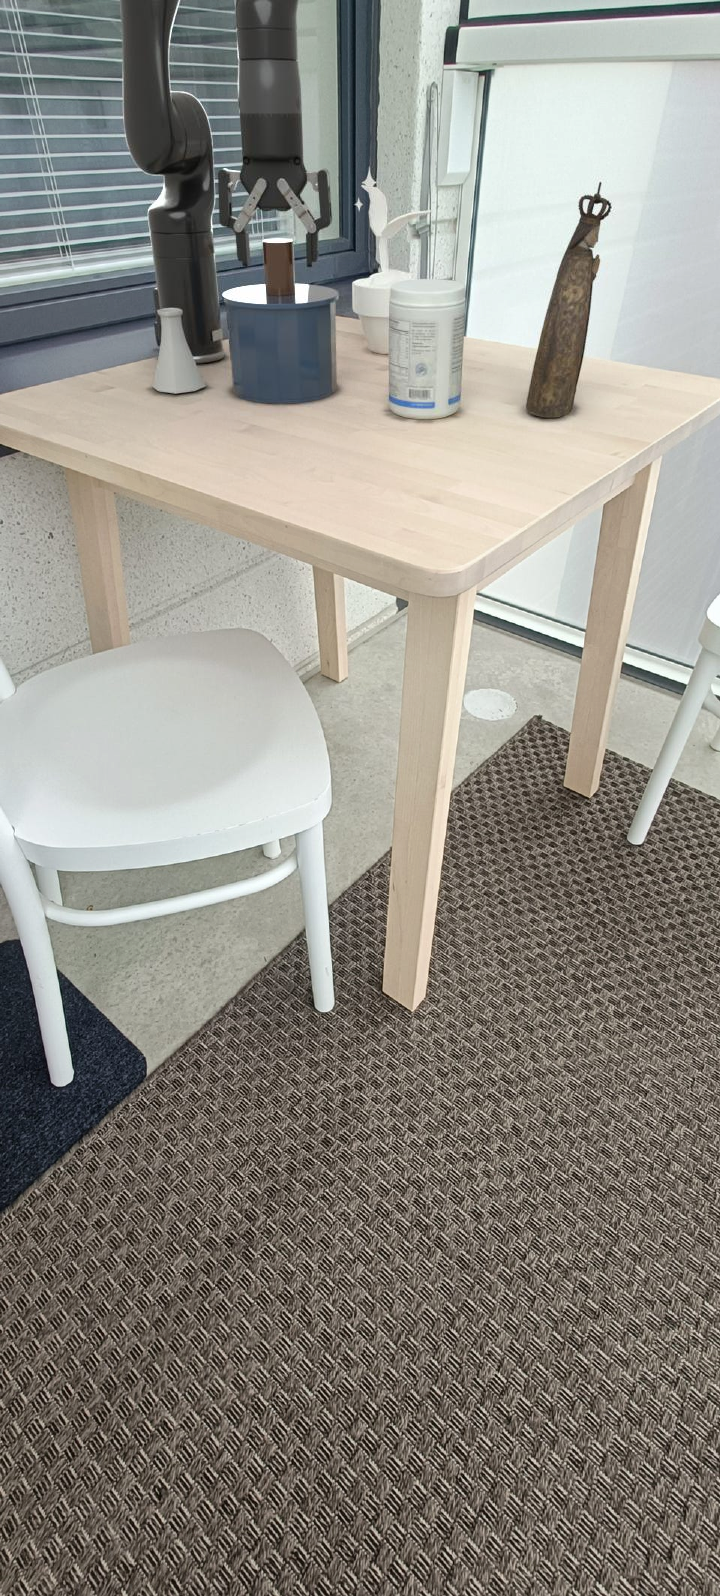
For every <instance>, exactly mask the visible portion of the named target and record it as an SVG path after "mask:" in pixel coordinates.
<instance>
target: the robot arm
mask: <svg viewBox="0 0 720 1596" xmlns="http://www.w3.org/2000/svg"><path fill="white" fill-rule="evenodd" d="M299 2H300V1H299V0H236V1H235V7H234V16H235V17H234V19H235V31H236V32H235V33H236V34H235V35H236V48H237V50H236V51H237V59H238V60H237V108H238V111H239V113H238V114H239V125H240V127H239V128H240V139H241V140H240V141H241V157H242V166H241V169H240V170H232V169H229V168H221V169H220V170H219V171H218V172H217V187H218V189H217V191H218V212H219V213H218V218H219V219H218V220H219V224H220V225H221V226H222V227H226V228H228V229H230V230H232V231H233V232H234V234H235V245H236V247H235V248H236V257H237V260H238V262H241V264H242V267H250V266H251V250H250V235H249V231H247V227H248V225H249V223H250V222H251V220H252V219H253V216H254V215H255V213H256V212H257V210H261V212H270V211H273V210H275V211H278V212H288V211H290V210H292V211H293V212H294V213H295V215H296V216H297V218H298V219H299V220H300V221H301V223H302V225H303V226H304V227H305V229H306V230H307V232H306V233H305V251H306V267H307V268H313V267H314V266H315V263H317V262H318V260H319V257H320V253H319V252H320V248H319V247H320V245H319V244H320V243H319V234H320V231H321V230H323V229H325V228H328V227H329V226H330V225H331V224H332V223H333V213H332V199H331V198H332V197H331V182H330V172H329V170H328V169H326V168H322V169H320V170H313V171H307V169H306V166H305V163H304V138H303V137H304V135H303V104H302V83H301V75H300V70H299V69H300V67H299V61H298V59H299V53H298V49H299V48H298V31H297V30H298V23H297V21H298V20H297V17H298V6H299ZM180 3H181V0H119V12H120V13H119V14H120V27H121V46H122V115H123V116H122V117H123V118H122V119H123V129H124V136H125V142H126V145H127V148H128V151H129V154H130V156H131V159H132V160H133V162H134V163H135V165H136V166H137V167H138V168H139V170H141V171H142V172H143V173H144V174H146V175H149V176H150V175H151V176H163V189H162V191H161V193H160V195H159V196H158V198H157V200H155V202H153V203H152V204H151V205H150V206H149V208H148V210H147V223H148V229H149V237H150V244H151V253H152V259H153V267H154V275H155V283H156V287H155V288H154V289H153V290H152V297H153V303H154V304H153V305H154V311H155V320H156V321H154V322H153V327H154V336H155V341H156V345H157V347H159V348H160V345H161V331H162V326H161V318H160V315H158V312H157V310H160V309H163V308H179V309H181V310H182V311H183V313H182V315H181V322H182V328H183V332H184V335H185V339H186V342H187V344H188V347H189V349H190V351H191V354H192V356H193V358H194V361H195V363H196V364H206V363H213V362H216V361H220V360H222V359H223V358H224V357H225V348H224V344H223V343H224V342H223V338H224V336H223V334H224V333H223V327H222V320H221V309H220V307H221V306H220V297H219V287H218V286H219V285H218V274H217V264H216V253H215V242H214V241H215V240H214V230H213V214H214V210H215V205H216V184H215V182H216V181H215V162H214V161H215V160H214V145H213V143H214V142H213V134H212V129H211V124H210V121H209V117H208V114H207V112H206V110H205V108H204V106H203V105H202V103H201V102H200V101H199V99H198V98H197V97H196V96H194V95H193V94H191V93H190V92H185V91H176V90H175V91H174V90H171V78H170V44H171V36H172V30H173V27H174V23H175V19H176V15H177V12H178V9H179V6H180ZM239 181H240V183H241V185H242V186H243V189H244V190H245V191H246V193H247V194H248V198H247V199H246V201H245V203H244V205H243V207H242V208H241V211H240V213H239V214H238V217H236V216H233V191H235V190H236V189H237V186H238V182H239ZM308 182H309V183H310V184H311V186H312V189H313V190H314V192H318V201H319V202H318V204H319V217H317V218H315V216H314V215H313V213H312V211H311V210H310V208H309V206H308V204H307V202H306V201H305V200H304V198H303V196H302V193H303V191H304V190H305V187H306V186H307V183H308Z"/></svg>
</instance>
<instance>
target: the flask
mask: <svg viewBox="0 0 720 1596" xmlns="http://www.w3.org/2000/svg"><path fill="white" fill-rule="evenodd" d="M157 312H158V315H160V318H161V326H162V331H161V345H160V347H159V351H158V357H157V362H156V367H155V372H154V375H153V381H152V385H151V386H152V388H154V389H155V390H156V391H158V392H161V393H168V394H169V393H170V394H182V393H190V392H196V391H198V390H200V389H202V388H205V387H206V386H207V385H206V383H205V380H204V378H203V376H202V373H201V372H200V370H199V367H198V365H197V363H195V361H194V358H193V356H192V354H191V351H190V349H189V347H188V344H187V342H186V339H185V335H184V332H183V328H182V322H181V315H182V313H183V311H182V310H181V309H179V308H163V309H160V310H157Z"/></svg>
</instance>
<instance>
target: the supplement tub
mask: <svg viewBox="0 0 720 1596" xmlns="http://www.w3.org/2000/svg"><path fill="white" fill-rule="evenodd" d="M413 279H414V280H406V281H400V282H396V283H394V284H392V285H391V288H390V298H389V301H390V302H389V354H388V408H389V410H390V411H391V412H392V413H393V414H395V415H396V416H400V417H402V418H405V419H406V418H407V419H413V420H436V419H442V418H447V417H449V416H451V415H453V414H455V413H456V412H457V411H458V410H459V409H460V406H461V398H462V397H461V396H462V379H463V362H464V361H463V359H464V343H465V342H464V341H465V324H466V306H467V305H466V303H467V302H466V300H467V298H466V284H464V283H463V282H460V281H457V280H451V279H442V278H441V279H440V278H413Z"/></svg>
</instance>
